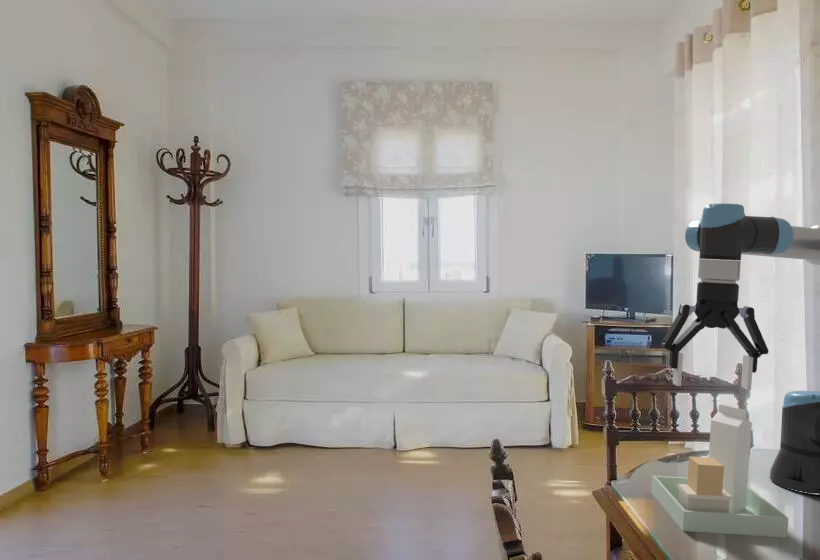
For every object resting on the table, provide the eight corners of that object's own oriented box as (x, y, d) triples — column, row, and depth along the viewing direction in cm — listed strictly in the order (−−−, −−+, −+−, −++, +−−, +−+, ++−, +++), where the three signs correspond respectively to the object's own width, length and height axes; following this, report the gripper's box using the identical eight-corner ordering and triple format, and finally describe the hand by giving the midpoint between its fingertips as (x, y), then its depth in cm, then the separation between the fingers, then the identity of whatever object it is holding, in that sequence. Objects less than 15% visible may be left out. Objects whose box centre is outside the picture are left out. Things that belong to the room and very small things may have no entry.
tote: (740, 500, 146) (742, 480, 145) (786, 540, 126) (788, 518, 125) (650, 494, 147) (652, 475, 147) (682, 533, 127) (683, 511, 127)
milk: (732, 515, 136) (739, 412, 134) (704, 504, 141) (711, 405, 139) (746, 508, 139) (753, 408, 138) (719, 499, 144) (725, 402, 143)
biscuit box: (711, 486, 133) (713, 457, 133) (722, 495, 128) (724, 466, 128) (687, 484, 133) (689, 456, 133) (696, 494, 128) (698, 464, 128)
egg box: (718, 518, 134) (720, 486, 133) (729, 530, 128) (732, 496, 128) (675, 515, 134) (677, 483, 134) (685, 527, 128) (687, 494, 128)
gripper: (773, 283, 131) (765, 385, 132) (648, 277, 133) (642, 379, 134) (792, 285, 124) (784, 394, 125) (660, 279, 125) (654, 387, 126)
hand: (711, 386), depth 129 cm, fingers open, 13 cm apart
